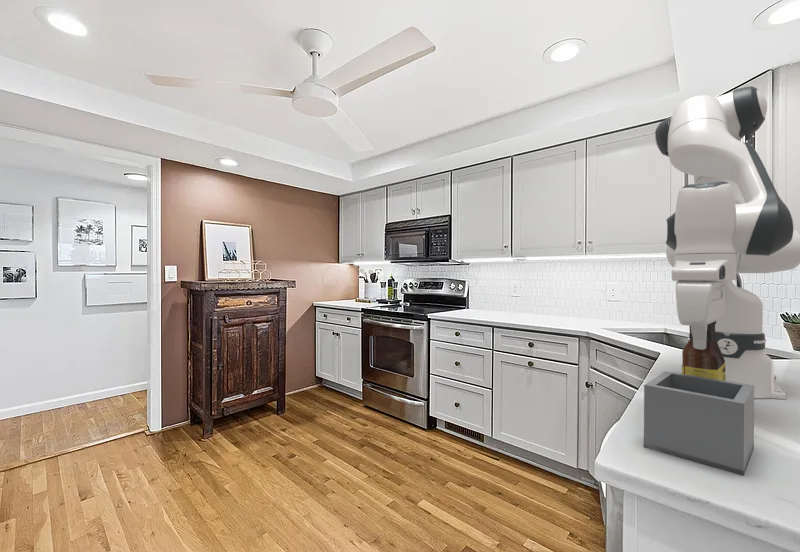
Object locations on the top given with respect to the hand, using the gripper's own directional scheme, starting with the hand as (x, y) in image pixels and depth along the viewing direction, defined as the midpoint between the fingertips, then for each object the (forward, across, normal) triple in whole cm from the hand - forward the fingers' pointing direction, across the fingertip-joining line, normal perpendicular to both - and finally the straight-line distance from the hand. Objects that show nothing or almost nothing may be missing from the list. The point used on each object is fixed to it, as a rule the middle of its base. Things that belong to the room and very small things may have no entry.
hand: (703, 346), depth 69 cm
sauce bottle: (+14, 0, 0) cm, 14 cm away
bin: (+14, +13, +2) cm, 19 cm away
